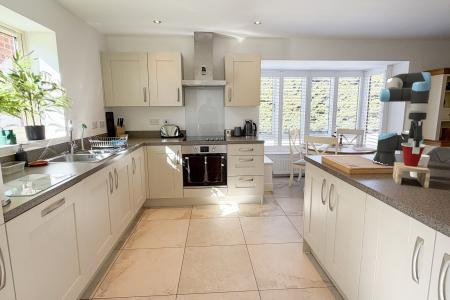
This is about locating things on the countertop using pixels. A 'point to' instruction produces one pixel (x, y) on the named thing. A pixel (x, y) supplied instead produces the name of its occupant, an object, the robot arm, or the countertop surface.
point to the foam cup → (423, 161)
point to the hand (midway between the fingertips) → (412, 151)
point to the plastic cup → (411, 154)
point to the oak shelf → (421, 170)
